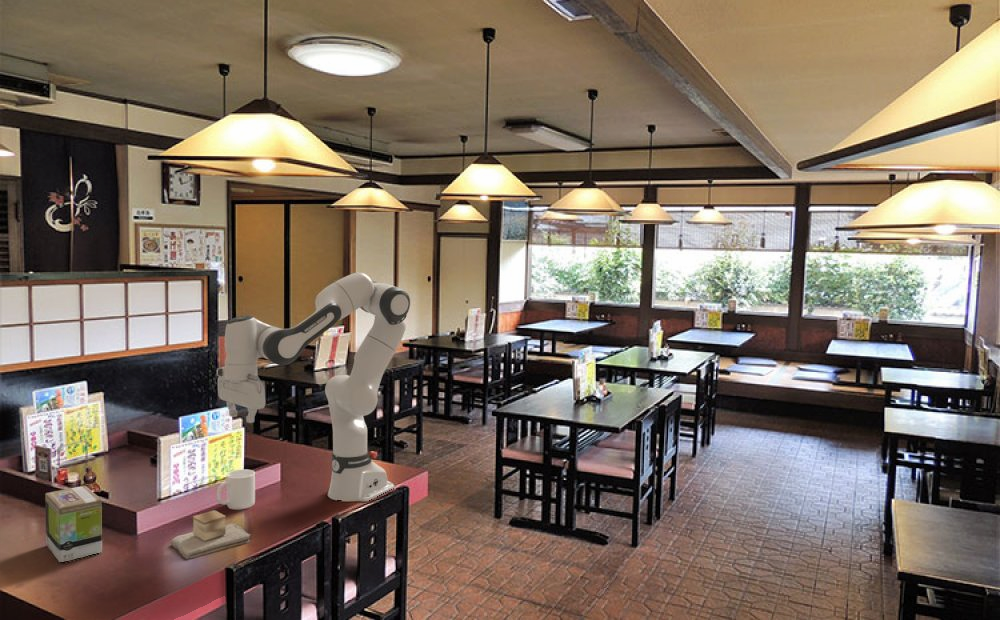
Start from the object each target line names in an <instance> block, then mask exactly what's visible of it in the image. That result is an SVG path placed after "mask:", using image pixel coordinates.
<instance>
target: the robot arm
mask: <svg viewBox="0 0 1000 620" xmlns="http://www.w3.org/2000/svg"><path fill="white" fill-rule="evenodd" d="M314 302H315V304H314V305H315V308H316V309H315V311H314V312H313V313H312V314H311V315H310V316H308V317H306V319H304V320H301V322H299V323H298V324H296V325H295V326H293V327H290V328H280V327H277V326H274V325H271V324H268V323H265V322H263V321H261V320H259V319H257V318H255V316H253V315H242V316H241V315H240V316H237V317H233V318H230V320H227V323H226V325H225V332H224V351H225V359H224V366H221V367H219V368H216V376H217V377H218V378H217V395H218V397H219V399H220V400H222V401H225V402H226V406H227V409H228V415H229V417H231V418H235V417H238V410H237V408H236V405H237V406H240V407H244V408H247V412H248V414H247V415H246V416H245V418H246V419H245V422H246V423H248V424H253V423H255V416H256V414H257V412H258V410H261V409H264V408H265V406H266V392H265V387H264V383H263V381H261V379H260V377H259V376H258V375H259V374H258V360H259V358H260V359H261V358H264V359H266V360H269V361H270V362H271V363H274V364H275V365H277V366H278V365H279V366H286V365H289V364H292V363H294V362H295V361H296V360H297V359H298V358H299V357H300V356H301V354H302V353H303V351H304V350H305V348H306V347H307V346H308V345H309V344H310V343H312V342H313V341H315V340H316V339H317V338H319V337H320V336H321V335H322V334H324V333H325V332H327V331H328V330H329V329H331V328H332V327H333V326H334V325H336V324H337V323H338V322H340V321H342V320H343V319H344V318H346V317H347V316H349V315H351V314H352V313H354V312H355V311H357V310H358V309H359V308H360V309H361V310H362V311H364V312H365V313H369V314H371V315H373V316H374V319H373V320H374V321H373V324H372V327H371V328H370V329H369V331H368V333H367V334H366V335H365V338H364V339H363V340H362V343H361V344H360V346H359V347H358V349H357V351H356V352H355V354H354V357H353V359H354V360H353V367H352V369H351V373H350V375H348V374H339V375H334V376H332V377H331V378H329V380H328V381H327V382H326V384H325V388H324V392H325V396H326V399H327V402H328V408H329V409H328V410H329V414H330V419H331V425H332V452H331V462H330V463H331V478H330V479H331V480H330V484H329V488H328V493H327V496H328V498H330V500H334V501H337V500H342V501H341V502H369V500H370V501H371V499H372V500H374V499H375V498H377V496H378V497H379V495H380V496H381V494H382V495H384V494H386V493H388V492H390V491H392V490H394V489H395V485H394V483H393V482H391V481H389V480H388V475H387V472H386V470H385V469H384V468H383V467H381V466H380V465H379V464H377V463H375V462H374V461H372V458H373V459H376V458H377V456H378V452H377V451H373V450H371V451H370V450H368V427H367V424H366V422H365V418H364V416H368V415H370V414H371V413H373V412H374V411H375V409H376V408H377V405H378V401H379V399H378V392H379V388H380V384H381V381H382V378H383V375H384V374H385V371H386V369H387V367H388V366H389V364H390V362H391V360H392V359H393V357H394V355H395V353H396V351H397V350H398V348H399V346H400V343H401V342H402V339H403V338H404V335H405V331H406V329H407V328H406V327H407V325H406V322H405V320H406V318H407V316H408V313H409V310H410V307H411V297H410V296H409V294H408V293H407V292H406V291H405V290H404V289H403V288H401V287H398V286H395V285H392V284H390V283H389V284H388V283H382V282H377V281H373V280H372V279H371V277H370V276H368V274H366V273H364V272H358V271H357V272H354V273H351V274H348V275H346V276H343V277H342V278H340V279H337V280H336V281H334V282H332V283H330V284H329V285H328V286H326V287H324V289H322V290H321V291H320V292H319V293H318V294H317V295H316V297H315V301H314ZM393 488H394V489H393ZM391 489H392V490H391ZM389 490H390V491H389ZM387 491H388V492H387ZM385 492H386V493H385ZM383 493H384V494H383Z"/></svg>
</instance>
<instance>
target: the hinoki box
mask: <svg viewBox="0 0 1000 620" xmlns="http://www.w3.org/2000/svg"><path fill="white" fill-rule="evenodd" d="M226 519H227V516H226V515H225V514H223V513H221V512H219V511H217V510H214V509H213V510H210V511H206V512H203V513H200V514H196V515H193V516H192V521H193V522H192V523H193V531H192V532H193V533H194V535H195V536H197V537H199V538H200V539H202V540H204V541H206V540H209V539H212V538H215V537H218V536H221V535H224V534H226V525H227V524H226Z"/></svg>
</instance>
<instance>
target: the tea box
mask: <svg viewBox="0 0 1000 620" xmlns="http://www.w3.org/2000/svg"><path fill="white" fill-rule="evenodd" d="M44 499H45V500H44V502H45V503H44V505H45V506H44V507H45V541H46V546H47V547H48V549H49V550H50V551H51V553H52V554H53V556H54V557H55V558H56V559H57V561H58V562H59V563H60V562H64V561H69V560H72V559H76V558H80V557H84V556H88V555H92V554H96V553H99V554H101V553H103V552H102V551H103V539H102V537H103V529H102V523H103V520H102V518H103V517H102V509H103V507H102V505H103V504H102V499H101V498H100V496H98V495H97V494H96V493H94V491H92V490H91V489H90V488H89V487H88V486H86V485H81V486H76V487H72V488H71V487H70V488H66V489H61V490H54V491H51V492H46V493H45V498H44ZM100 552H101V553H100ZM96 555H97V554H96ZM92 556H93V555H92ZM88 557H89V556H88ZM69 562H70V561H69Z"/></svg>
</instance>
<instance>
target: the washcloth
mask: <svg viewBox="0 0 1000 620" xmlns="http://www.w3.org/2000/svg"><path fill="white" fill-rule="evenodd" d="M250 536H251V533H248V532H246V531H245V530H244V529H243V528H242V527H241V526H239V525H238V524H235V523H228V524H226V534H224V535H221V536H218V537H215V538H212V539H209V540H206V541H204V540H202V539H200V538H199V537H197V536H195V535H194V533H193V531H192V532H188V533H185V534H180V535H177V536H175V537H173V538H172V539H171V541H170V544H171V546H172V547H173V548H174V549H175V550H178V551H179V554H180V553H181V554H182V555H181V556H182V557H183V558H184V557H185V559H186V560H189V559H188V558H190V559H193V558H192V557H194V558H197V557H200V556H203V555H204V556H205V555H207V554H212V553H215V552H218V551H222V550H225V549H228V548H232V547H236V546H239V545H242V544H247V543H250V542H251V540H250Z"/></svg>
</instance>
